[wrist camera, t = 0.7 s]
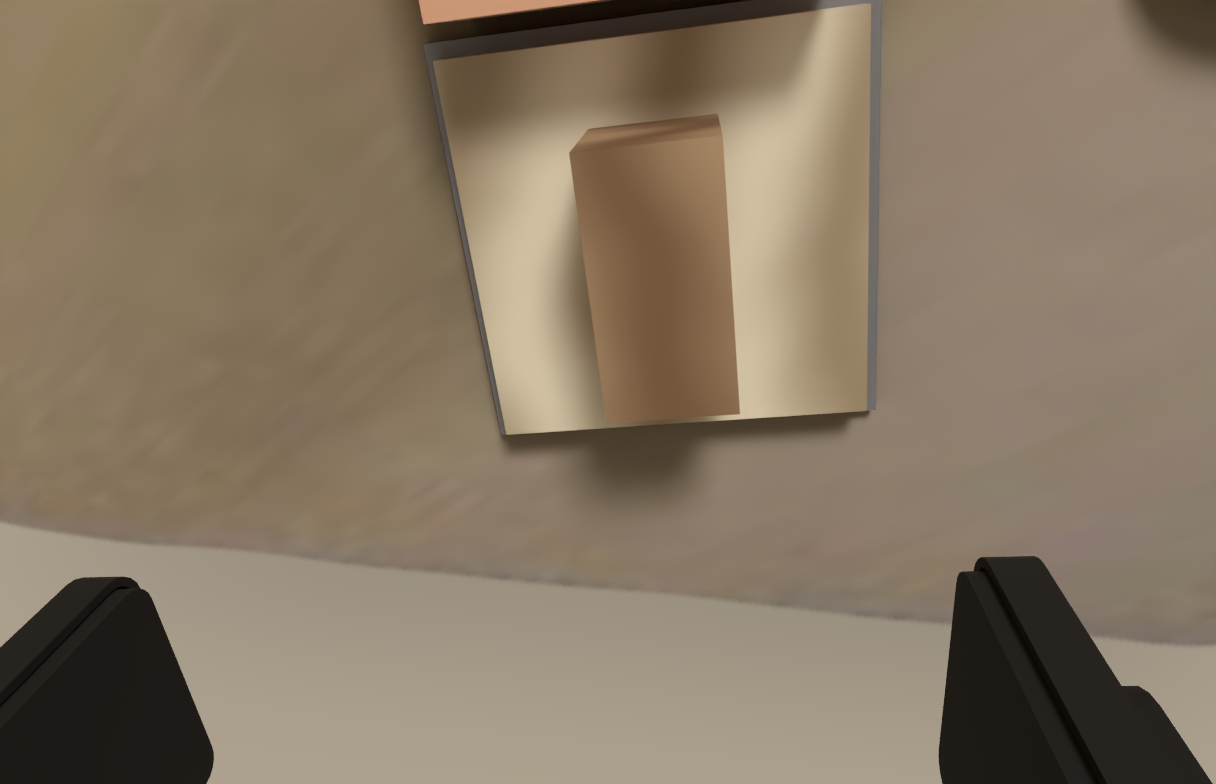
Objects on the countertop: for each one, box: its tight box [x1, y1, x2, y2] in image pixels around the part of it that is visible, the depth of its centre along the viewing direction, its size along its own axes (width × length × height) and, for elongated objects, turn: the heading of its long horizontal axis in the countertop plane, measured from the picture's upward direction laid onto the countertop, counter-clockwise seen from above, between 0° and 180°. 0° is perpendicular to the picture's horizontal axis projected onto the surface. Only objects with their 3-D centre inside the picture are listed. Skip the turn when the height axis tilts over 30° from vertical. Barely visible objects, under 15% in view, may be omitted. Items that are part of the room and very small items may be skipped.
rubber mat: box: [423, 0, 882, 435], centre depth 28 cm, size 14×14×1 cm
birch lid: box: [433, 4, 871, 435], centre depth 25 cm, size 13×13×6 cm
